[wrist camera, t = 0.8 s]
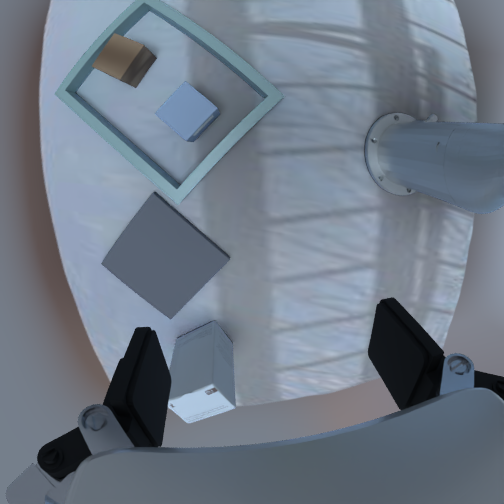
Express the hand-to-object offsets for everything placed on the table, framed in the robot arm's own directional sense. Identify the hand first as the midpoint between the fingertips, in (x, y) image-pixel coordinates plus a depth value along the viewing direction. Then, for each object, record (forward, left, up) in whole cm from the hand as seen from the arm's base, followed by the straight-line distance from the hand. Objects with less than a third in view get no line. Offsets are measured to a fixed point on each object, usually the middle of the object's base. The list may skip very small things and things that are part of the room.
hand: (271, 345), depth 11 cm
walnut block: (-4, -25, -29) cm, 38 cm away
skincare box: (+21, +11, -29) cm, 37 cm away
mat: (+14, -3, -29) cm, 32 cm away
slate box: (-4, -13, -29) cm, 32 cm away
